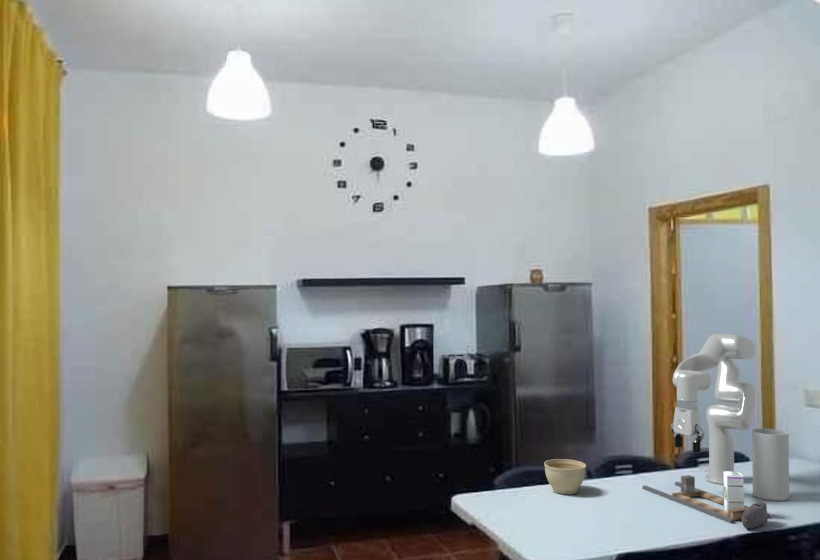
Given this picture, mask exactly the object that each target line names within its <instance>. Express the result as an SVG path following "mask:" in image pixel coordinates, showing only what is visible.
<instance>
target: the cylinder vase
mask: <svg viewBox="0 0 820 560" xmlns="http://www.w3.org/2000/svg"><path fill="white" fill-rule="evenodd" d="M751 431H752V434H751V435H752V436H751V437H752V440H751V441H752V442H751V444H752V455H751V456H752V495H753V496H754V497H755V498H758V499H761V500H765V501H769V502H770V501H771V502H784V501H787V500H789V499H790V451H789V450H790V449H789V448H790V446H789V443H790V439H789V432H788V431H785V430H781V429H776V428H775V429H774V428H755V429H751Z"/></svg>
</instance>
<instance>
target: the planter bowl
mask: <svg viewBox="0 0 820 560" xmlns="http://www.w3.org/2000/svg"><path fill="white" fill-rule="evenodd" d="M543 465H544V472H545V477H546V479H547V481H548V483H549V485H550V487H551V489H552V492H554V493H556V494H561V495H573V494H574V493H575V494H577V492H578V489H579V488H580V487H581V485H582V484H583V482H584V480H585V479H584V478H585V475H586V469H587V465H586V463H584V462H582V461H579V460H574V459H567V458H566V459H564V458H561V459H560V458H557V459H556V458H553V459H548V460H546V461H544V463H543Z"/></svg>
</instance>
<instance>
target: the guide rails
mask: <svg viewBox="0 0 820 560" xmlns="http://www.w3.org/2000/svg"><path fill="white" fill-rule="evenodd" d="M674 485H675V486H677V487H679V488H681V481H674ZM642 489H643V490H645V491H648V492H650V493H652V494H654V495H657V494H658V496H659V497H660V496H661V497H662V496H663V498H665V499H668V500H671V501H673V502H676V503H678V504H681V505H683V506H686V507H688V508H690V509H694V510H696V511H698V512H700V513H703V512H704V514H706V515H708V514H709V515H708V516H710V517H713V516H714V518H716V519H718V518H719V520H721V521H723V520H724V522H726V523H729V524H735V520H734V519H732V518H729V517H727V516H724V515H722V514H719V513H716V512H714V511H711V510H709V509H706V508H703V507H701V506H698V505H696V504H693V503H690V502H688V501H685V500H683V499H680V498H677V497H675V496H672V494H671V493H670V494H669V493H667V492H663V491H662V490H658V489H657V488H654V487H651V486H648V485H642ZM695 490H701V491H704V492H707V491H706V490H703V489H700V488H697V487H695ZM707 493H709V494H712V495H715V496H718V497H721V498H723V499H724V496H723V497H722V496H719V495H716V494H714V493H711V492H707ZM744 506H746V507H749V506H747V505H745V504H744ZM768 519H771V513H768Z"/></svg>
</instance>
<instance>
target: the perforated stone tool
mask: <svg viewBox="0 0 820 560" xmlns="http://www.w3.org/2000/svg"><path fill="white" fill-rule="evenodd" d="M767 507H768V506H767V504H766V503H765V502H762V501H759V502H755V503H753V504H751V505H749V506H748V508H747V509H746V510H745V511H744V513H743V515H742V519H741V523H742V526H743V528H745V529H747V530H748V529H750V530H751V529H754V528H758V527H760V526H762V525H764V524H765V523H767V521H768V519H769V518H768V514H769V513H768V510H767V509H768V508H767Z"/></svg>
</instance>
